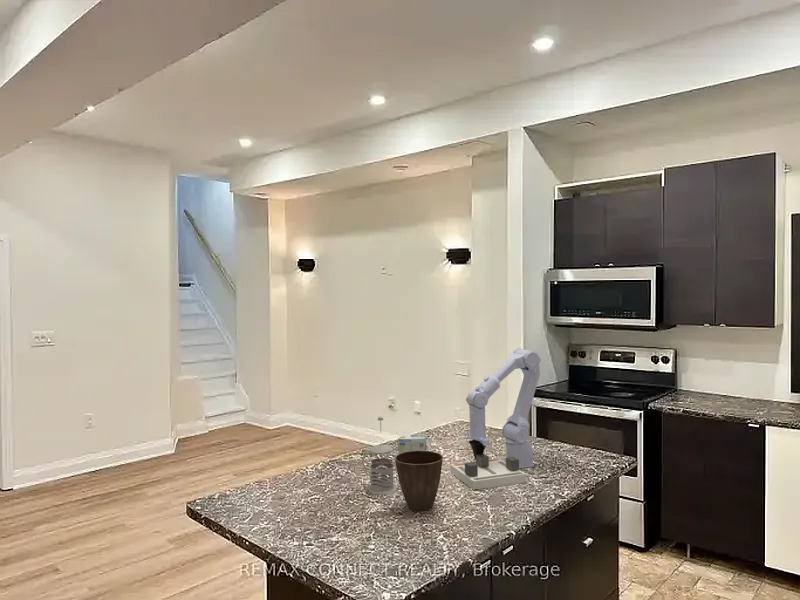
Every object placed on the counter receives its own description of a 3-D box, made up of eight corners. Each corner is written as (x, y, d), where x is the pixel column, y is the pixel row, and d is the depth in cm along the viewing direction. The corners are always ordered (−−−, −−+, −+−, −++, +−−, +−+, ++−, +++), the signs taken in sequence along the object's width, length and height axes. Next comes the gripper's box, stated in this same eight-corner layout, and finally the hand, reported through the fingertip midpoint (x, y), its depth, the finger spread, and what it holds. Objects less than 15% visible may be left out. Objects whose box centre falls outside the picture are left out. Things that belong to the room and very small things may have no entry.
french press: (393, 495, 197) (391, 420, 196) (359, 493, 199) (357, 419, 198) (399, 485, 206) (397, 413, 206) (367, 483, 209) (365, 413, 208)
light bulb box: (427, 461, 234) (426, 433, 233) (426, 466, 227) (425, 438, 227) (400, 460, 235) (399, 433, 234) (398, 466, 228) (397, 438, 228)
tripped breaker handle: (483, 463, 218) (483, 453, 218) (488, 466, 214) (488, 456, 214) (476, 464, 217) (476, 454, 217) (481, 467, 213) (481, 457, 213)
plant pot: (389, 503, 189) (388, 453, 189) (432, 496, 195) (431, 448, 194) (406, 520, 175) (405, 467, 175) (452, 512, 181) (450, 460, 180)
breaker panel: (499, 466, 225) (498, 447, 224) (526, 482, 206) (525, 462, 205) (450, 472, 218) (449, 454, 218) (473, 490, 199) (473, 469, 199)
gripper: (459, 420, 224) (460, 456, 224) (476, 429, 210) (476, 467, 210) (476, 418, 226) (477, 454, 226) (494, 427, 212) (494, 464, 213)
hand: (478, 460), depth 218 cm, fingers closed
